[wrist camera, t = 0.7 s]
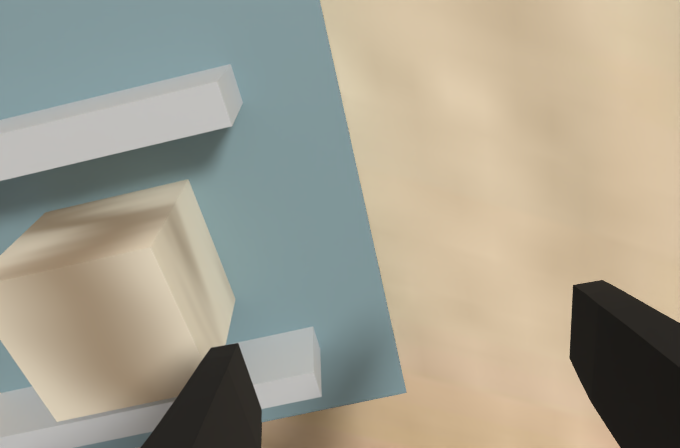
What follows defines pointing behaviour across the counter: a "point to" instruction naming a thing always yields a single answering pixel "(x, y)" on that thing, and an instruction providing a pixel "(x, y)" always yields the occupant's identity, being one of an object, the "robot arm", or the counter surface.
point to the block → (114, 300)
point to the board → (201, 184)
